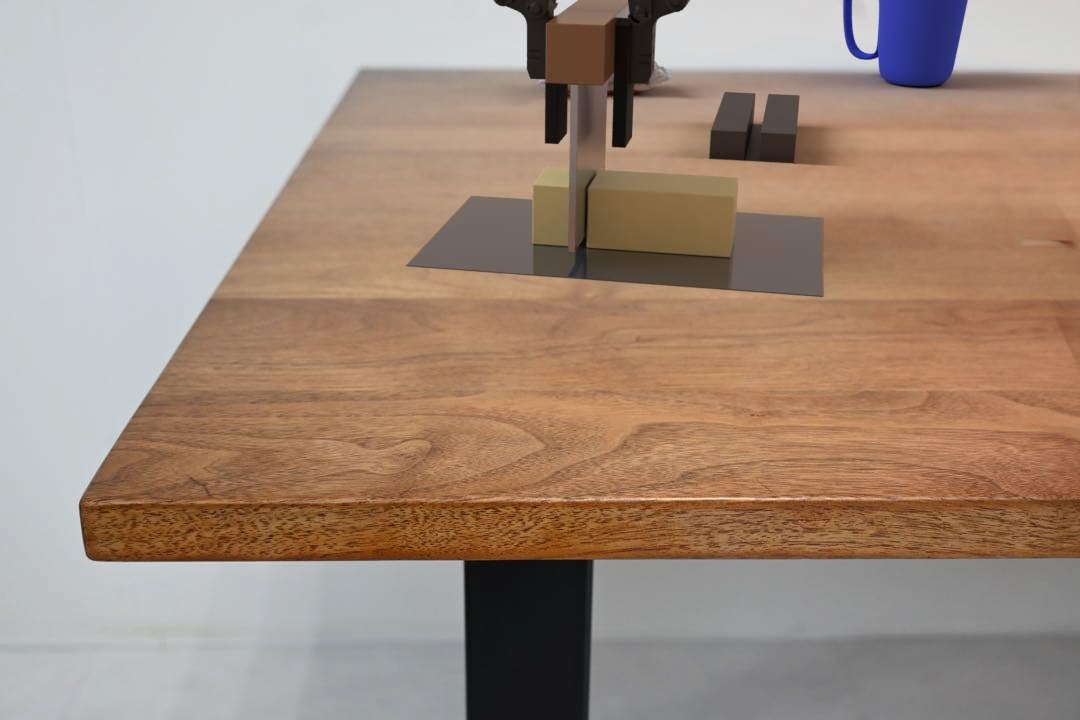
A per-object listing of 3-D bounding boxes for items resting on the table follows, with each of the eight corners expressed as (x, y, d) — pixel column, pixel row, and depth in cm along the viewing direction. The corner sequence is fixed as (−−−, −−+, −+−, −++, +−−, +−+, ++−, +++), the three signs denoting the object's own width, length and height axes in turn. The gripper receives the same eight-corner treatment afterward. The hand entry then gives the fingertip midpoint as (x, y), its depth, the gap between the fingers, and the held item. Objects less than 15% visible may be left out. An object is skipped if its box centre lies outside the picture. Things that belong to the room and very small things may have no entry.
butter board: (821, 236, 76) (823, 217, 76) (821, 318, 64) (823, 296, 63) (471, 213, 80) (470, 195, 80) (406, 286, 68) (405, 265, 67)
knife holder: (796, 132, 102) (799, 95, 101) (792, 175, 89) (796, 134, 88) (722, 128, 103) (724, 91, 102) (708, 171, 90) (710, 129, 89)
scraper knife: (625, 203, 76) (632, -1, 71) (599, 255, 67) (605, 25, 62) (576, 200, 77) (580, -3, 72) (544, 251, 68) (545, 23, 63)
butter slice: (587, 226, 74) (588, 168, 73) (575, 247, 70) (576, 186, 69) (546, 224, 74) (546, 166, 73) (532, 244, 71) (532, 184, 69)
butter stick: (734, 236, 72) (738, 177, 71) (730, 258, 69) (734, 196, 67) (597, 227, 74) (599, 169, 72) (586, 248, 70) (587, 187, 69)
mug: (852, 67, 129) (862, -35, 125) (969, 80, 123) (984, -27, 119) (819, 79, 123) (829, -27, 119) (941, 93, 116) (955, -18, 113)
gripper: (416, -347, 59) (430, 148, 68) (764, -354, 56) (730, 164, 65) (458, -330, 65) (466, 118, 75) (771, -335, 62) (738, 132, 72)
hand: (588, 139), depth 70 cm, fingers closed on scraper knife, 3 cm apart
